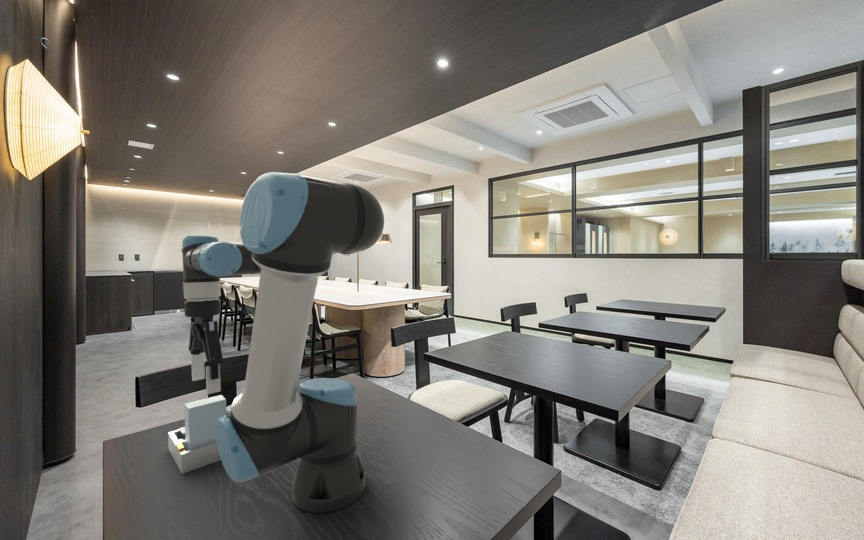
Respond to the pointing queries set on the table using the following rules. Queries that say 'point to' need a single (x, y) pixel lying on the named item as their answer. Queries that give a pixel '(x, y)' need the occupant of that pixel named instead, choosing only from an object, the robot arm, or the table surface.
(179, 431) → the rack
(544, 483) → the table surface
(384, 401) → the table surface
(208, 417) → the block
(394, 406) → the table surface
